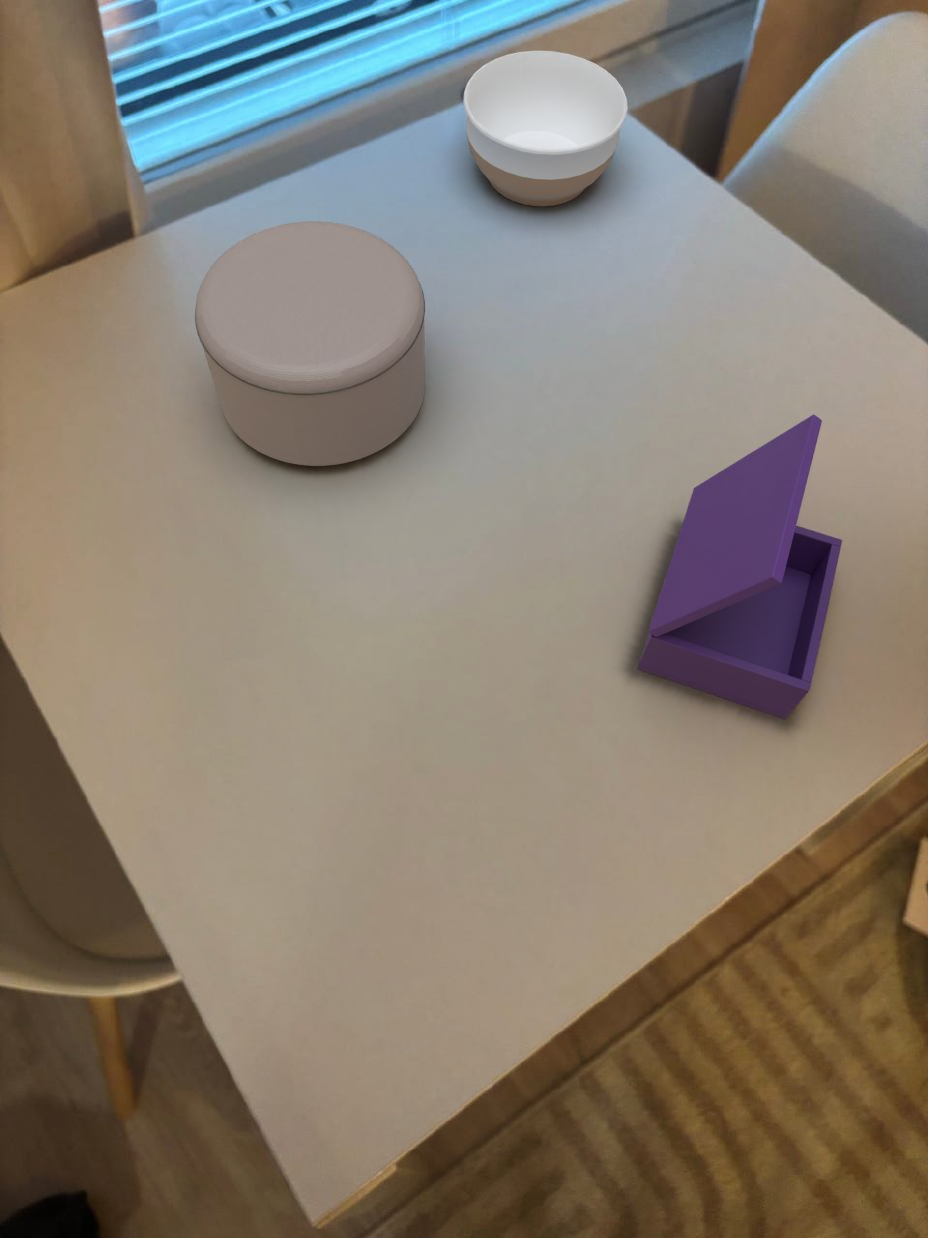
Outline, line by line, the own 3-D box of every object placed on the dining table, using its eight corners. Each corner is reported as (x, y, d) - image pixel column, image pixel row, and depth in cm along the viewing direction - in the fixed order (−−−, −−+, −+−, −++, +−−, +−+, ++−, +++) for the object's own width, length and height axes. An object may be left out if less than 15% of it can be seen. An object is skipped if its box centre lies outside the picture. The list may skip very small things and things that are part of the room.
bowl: (485, 235, 93) (489, 163, 86) (443, 135, 101) (444, 61, 94) (636, 209, 96) (652, 137, 89) (585, 113, 103) (596, 39, 96)
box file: (818, 574, 76) (842, 539, 71) (785, 719, 70) (809, 691, 65) (680, 531, 77) (696, 493, 73) (636, 668, 71) (650, 637, 67)
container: (180, 388, 83) (143, 283, 73) (338, 291, 89) (325, 182, 79) (307, 514, 77) (287, 420, 67) (468, 401, 83) (472, 299, 73)
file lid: (822, 420, 62) (814, 413, 62) (782, 583, 56) (772, 576, 56) (701, 493, 72) (693, 487, 72) (656, 637, 66) (647, 632, 66)
